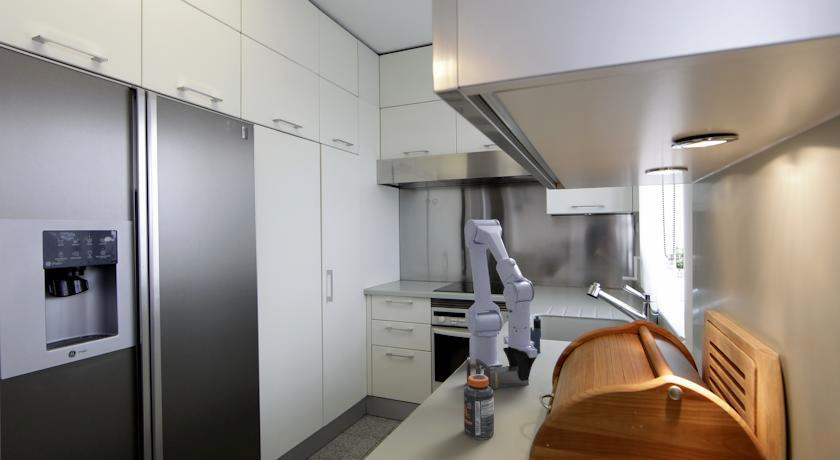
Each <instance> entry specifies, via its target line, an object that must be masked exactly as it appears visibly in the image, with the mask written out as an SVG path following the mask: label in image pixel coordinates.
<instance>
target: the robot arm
mask: <svg viewBox="0 0 840 460" xmlns="http://www.w3.org/2000/svg"><path fill="white" fill-rule="evenodd" d="M502 229H503V228H502V227H501V224H500V221H499V220H498V219H471V218H470V219H468V220H467V222H466V224H465V226H464V229H463V231H464V240H465V246H466V247H467V248H468V249H469V250H468V251H469V258H470V259H469V261H470V267H471V268H470V269H471V276H472V277H471V278H472V285H473V292H474V293H473V294H474V303H473V304H472V305H471V306H470V307H469V308H468V309H467V319H466V326H467V329H468V331H469V332H470V333H471V335H470V337H469V356H468V357H467V358H466V360H468V359H469V358H470V359H469V360H470V361H472V362H476V359H479V360H481V361H482V362H483V363H485V364H486V365H488V366H489V367H490V368H492V367H501V366H503V363H502V362H501V361H499V360H498V335H499V334H500V332H501V331H502V330H503V326H504V319H503V316H502V314H501V310H500V307H499V306H498V305H497V304H496V303H495V302H493V300H492V299H493V298H492V292H491V282H490V275H489V274H490V273H489V267H488V258H487V250H488V249H489V251H490V253H491V254H492V256H493V257H494V259H495V261H496V263H497V264H496V265H495V266H496V267H495V270H496V272H497V273H498V276H499V279H500V280H501V283H502V284H503V287H504V288H503V293H502V295H503V297H504V301H505V307H506V309H507V314H508V315H507V316H508V317H507V321H508V324H507V326H508V327H507V329H508V330H507V331H508V332H507V333H508V335H507V336H503V344H504V345H507V347H503V348H502V349H503V352H504V353H505V356H506V359H507V362H508V366H514V365H518V370H519V378H520V380H521V381H525V380H528V379H529V380H530V373H531V370H532V367H533V364H534V363H535V361H536V359H537V358H538V353H537V349H535V348H534V347H533V345H534V342H532V341H530V327H531V302H532V301H533V300H534V299H535V293H536V291H535V287H534V284H533V282H532V281H531V280H529V279H527V277H524V275H523V274H522V272H521V270H520V268H519V265H518V264H517V262H516V260H515V259H514V258H511V257H509V255H508V252H507V250H506V247H505V245H504V241H503V239H502V233H503V230H502ZM480 368H484V367H483V366H481V365H480Z"/></svg>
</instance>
